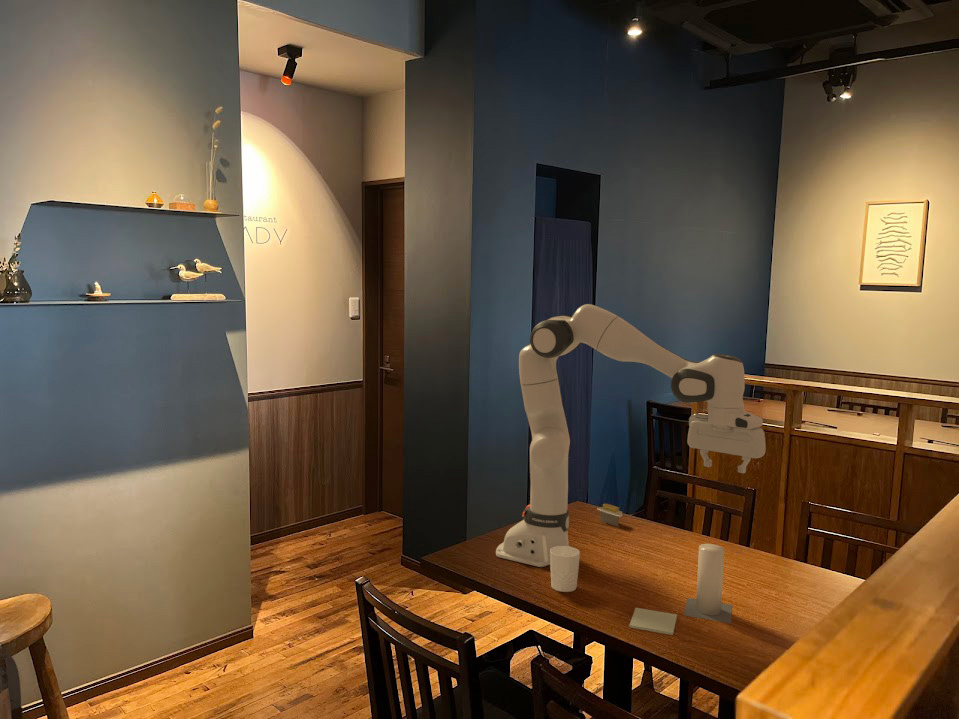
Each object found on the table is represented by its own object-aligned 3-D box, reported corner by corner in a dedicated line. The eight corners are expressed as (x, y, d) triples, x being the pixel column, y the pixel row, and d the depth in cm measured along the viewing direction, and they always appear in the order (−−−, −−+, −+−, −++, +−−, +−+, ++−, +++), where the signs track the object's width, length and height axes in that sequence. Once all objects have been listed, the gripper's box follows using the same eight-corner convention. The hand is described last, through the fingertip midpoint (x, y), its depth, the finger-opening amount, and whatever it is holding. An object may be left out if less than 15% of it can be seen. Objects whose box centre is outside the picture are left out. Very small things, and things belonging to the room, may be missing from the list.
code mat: (683, 616, 176) (683, 615, 176) (687, 598, 187) (687, 597, 187) (731, 624, 173) (731, 623, 173) (732, 605, 183) (732, 604, 183)
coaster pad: (629, 628, 170) (629, 624, 170) (635, 610, 179) (635, 607, 179) (672, 635, 166) (673, 632, 166) (676, 617, 176) (677, 614, 175)
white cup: (561, 578, 198) (562, 543, 197) (584, 587, 192) (585, 551, 191) (543, 586, 193) (544, 550, 192) (566, 596, 187) (567, 558, 186)
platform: (602, 515, 256) (602, 497, 256) (643, 528, 243) (643, 509, 242) (579, 521, 249) (580, 503, 248) (620, 535, 235) (621, 516, 234)
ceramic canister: (695, 612, 178) (698, 550, 176) (696, 603, 183) (699, 542, 182) (720, 617, 176) (723, 553, 174) (721, 607, 181) (724, 545, 180)
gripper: (683, 413, 191) (682, 464, 193) (757, 423, 177) (756, 478, 178) (695, 411, 196) (694, 460, 197) (769, 420, 181) (767, 474, 182)
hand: (724, 469), depth 187 cm, fingers open, 8 cm apart
